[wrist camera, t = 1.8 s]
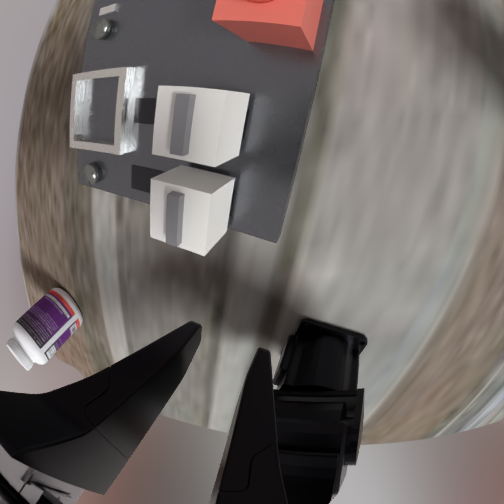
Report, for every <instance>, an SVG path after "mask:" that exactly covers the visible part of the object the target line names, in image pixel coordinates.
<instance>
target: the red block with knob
mask: <svg viewBox="0 0 504 504" xmlns="http://www.w3.org/2000/svg"><path fill="white" fill-rule="evenodd" d="M322 5H323V0H216V4H215V8H214V12H213V16H212V21H214V22H216V23H217V24H219V25H221V26H223V27H224V28H226V29H228V30H230V31H231V32H233V33H235V34H236V35H238V36H239V37H241V38H243V39H244V40H246V41H247V42H258V43H267V44H274V45H281V46H288V47H294V48H299V49H305V50H310V51H313V49H314V44H315V39H316V34H317V29H318V25H319V20H320V15H321V10H322Z"/></svg>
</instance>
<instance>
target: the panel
mask: <svg viewBox="0 0 504 504" xmlns="http://www.w3.org/2000/svg"><path fill="white" fill-rule="evenodd" d="M215 4H216V0H96V1H95V5H94V9H93V12H92V17H91V21H90V25H89V30H88V35H87V40H86V45H85V51H84V58H83V65H82V73H78V74H73V80H72V91H71V106H70V147H71V148H78V170H79V184H83V185H86V186H90V187H93V188H97V189H100V190H104V191H107V192H111V193H114V194H118V195H121V196H124V197H128V198H131V199H135V200H138V201H141V202H145V203H148V204H150V190H151V178H153V177H156V176H158V175H160V174H162V173H164V172H167V171H169V170H171V169H173V168H176V167H178V166H180V165H183V166H188V167H192V168H197V169H201V170H205V171H210V172H214V173H218V174H222V175H226V176H230V177H234V178H235V181H234V187H233V194H232V200H231V206H230V213H229V219H228V226H227V228H230V229H233V230H236V231H239V232H242V233H246V234H249V235H252V236H255V237H258V238H261V239H264V240H268V241H271V242H274V243H277V241H278V239H279V237H280V234H281V230H282V226H283V222H284V218H285V214H286V211H287V207H288V203H289V199H290V195H291V191H292V187H293V183H294V179H295V175H296V171H297V167H298V163H299V159H300V155H301V150H302V146H303V142H304V138H305V134H306V129H307V125H308V121H309V117H310V112H311V108H312V104H313V99H314V95H315V90H316V86H317V81H318V77H319V72H320V68H321V63H322V58H323V54H324V49H325V44H326V39H327V34H328V29H329V24H330V19H331V14H332V9H333V4H334V0H323V5H322V10H321V15H320V20H319V25H318V29H317V34H316V39H315V44H314V49H313V51H310V50H305V49H299V48H294V47H288V46H281V45H274V44H267V43H258V42H247V41H246V40H244V39H243V38H241V37H239V36H238V35H236V34H235V33H233V32H231V31H230V30H228V29H226V28H224V27H223V26H221V25H219V24H217V23H216V22H214V21H212V16H213V12H214V8H215ZM158 86H185V87H199V88H210V89H220V90H228V91H236V92H243V93H249V94H250V96H249V102H248V107H247V112H246V118H245V123H244V129H243V134H242V140H241V146H240V151H239V156H237V157H235V158H233V159H231V160H229V161H226V162H224V163H222V164H220V165H218V166H216V167H211V166H207V165H202V164H198V163H193V162H189V161H184V160H179V159H174V158H169V157H164V156H159V155H154V154H152V146H153V132H154V121H155V111H156V102H157V94H158Z"/></svg>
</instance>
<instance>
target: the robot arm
mask: <svg viewBox="0 0 504 504" xmlns="http://www.w3.org/2000/svg"><path fill="white" fill-rule="evenodd" d="M304 324H307V325H304ZM201 331H202V326H201V325H200V324H198V323H196V322H193V321H189V322H188V323H186V324H184V325H182V326H181V327H179V328H177V329H175V330H174V331H172V332H170V333H168V334H167V335H165V336H163V337H161V338H160V339H158V340H156V341H154V342H153V343H151V344H149V345H147V346H146V347H144V348H142V349H140V350H138V351H137V352H135V353H133V354H131V355H129V356H128V357H126V358H124V359H122V360H120V361H118V362H117V363H115V364H113V365H111V367H107V368H105V369H104V370H102V371H100V372H98V373H96V374H94V375H92V376H90V377H87V378H85V379H83V380H80V381H78V382H75V383H73V384H70V385H67V386H64V387H62V388H59V389H56V390H53V391H51V392H47V393H42V394H25V393H15V392H6V391H0V504H75V503H76V501H77V500H78V498H79V497H80V495H81V493H82V492H83V490H84V489H86V490H88V491H92V492H95V493H99V494H102V495H104V494H105V493H106V492H107V490H108V489H109V487H110V486H111V485H112V483H113V482H114V480H115V479H116V477H117V476H118V474H119V473H120V471H121V470H122V468H123V467H124V465H125V464H126V463H127V461H128V459H129V458H130V457H131V455H132V454H133V452H134V451H135V449H136V448H137V446H138V445H139V443H140V442H141V440H142V439H143V437H144V436H145V434H146V433H147V431H148V430H149V428H150V427H151V425H152V424H153V423H154V421H155V420H156V418H157V416H158V415H159V414H160V412H161V411H162V409H163V408H164V406H165V405H166V403H167V402H168V400H169V399H170V397H171V396H172V394H173V393H174V391H175V390H176V388H177V387H178V385H179V384H180V382H181V380H182V379H183V377H184V375H185V373H186V371H187V369H188V367H189V365H190V363H191V361H192V359H193V356H194V354H195V352H196V350H197V348H198V346H199V344H200V341H201ZM361 341H363V342H361ZM366 345H367V338H366V337H364V336H361V335H357V334H354V333H351V332H347V331H344V330H341V329H338V328H334V327H331V326H328V325H325V324H321V323H318V322H315V321H312V320H309V319H302V320H301V321H300V323H299V326H298V328H297V330H296V332H295V335H290V336H289V337H288V339H287V342H286V344H285V346H284V348H283V351H282V354H281V357H280V360H279V363H278V366H277V369H276V372H275V375H274V378H273V379H272V366H271V354H270V351H269V350H267V349H264V348H261V347H260V348H258V349H257V352H256V354H255V357H254V359H253V361H252V364H251V366H250V368H249V371H248V373H247V376H246V378H245V381H244V384H243V387H242V390H241V393H240V396H239V399H238V402H237V405H236V409H235V413H234V416H233V420H232V424H231V427H230V431H229V435H228V438H227V442H226V446H225V449H224V453H223V457H222V460H221V463H220V467H219V471H218V474H217V478H216V481H215V485H214V488H213V491H212V495H211V499H210V501H209V504H329V503H330V501H331V500H332V499H333V498H334V497H335V496H336V495H337V494H338V492H339V489H340V487H341V485H342V483H343V481H344V478H345V476H346V471H347V465H356V462H357V458H358V453H359V448H360V443H361V437H362V429H363V418H364V388H362V389H357V384H358V369H359V355H360V353H361V352H362V351H363V349H364V348H365V346H366ZM273 384H274V385H277V386H278V387H277V389H273Z"/></svg>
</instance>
